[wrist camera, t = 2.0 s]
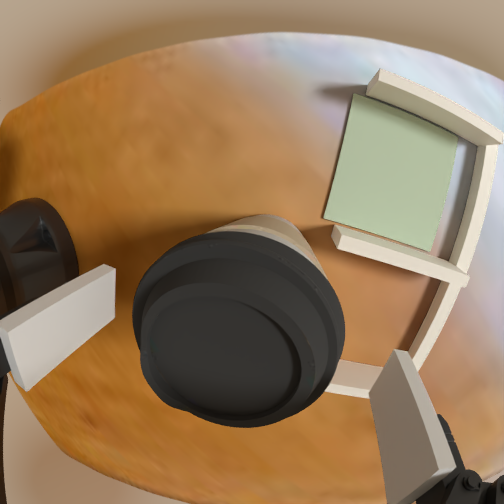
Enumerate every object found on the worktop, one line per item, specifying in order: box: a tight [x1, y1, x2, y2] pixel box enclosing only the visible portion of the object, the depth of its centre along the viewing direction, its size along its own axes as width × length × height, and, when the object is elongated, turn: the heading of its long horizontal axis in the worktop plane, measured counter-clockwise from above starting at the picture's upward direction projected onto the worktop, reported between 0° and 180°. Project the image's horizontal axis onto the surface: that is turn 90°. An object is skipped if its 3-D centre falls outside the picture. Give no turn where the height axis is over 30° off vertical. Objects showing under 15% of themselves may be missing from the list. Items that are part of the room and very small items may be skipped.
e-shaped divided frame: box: [325, 69, 504, 398], centre depth 19 cm, size 13×25×4 cm, turn 167°
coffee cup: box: [132, 214, 345, 428], centre depth 16 cm, size 9×9×15 cm
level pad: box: [323, 94, 458, 252], centre depth 20 cm, size 10×10×1 cm
